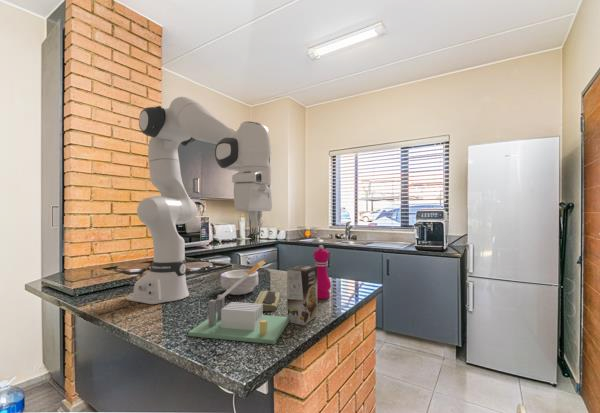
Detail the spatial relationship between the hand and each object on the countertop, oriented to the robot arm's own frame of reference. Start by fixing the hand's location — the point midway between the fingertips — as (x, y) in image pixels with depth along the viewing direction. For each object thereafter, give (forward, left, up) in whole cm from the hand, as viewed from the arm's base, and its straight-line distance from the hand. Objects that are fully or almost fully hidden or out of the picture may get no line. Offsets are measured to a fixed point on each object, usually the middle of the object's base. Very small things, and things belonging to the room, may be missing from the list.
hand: (255, 227), depth 82 cm
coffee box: (+11, +11, -29) cm, 33 cm away
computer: (-4, +22, -29) cm, 37 cm away
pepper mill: (+14, +34, -29) cm, 47 cm away
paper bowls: (-20, +34, -29) cm, 49 cm away
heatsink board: (-4, 0, -29) cm, 29 cm away
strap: (-5, 0, -16) cm, 17 cm away
